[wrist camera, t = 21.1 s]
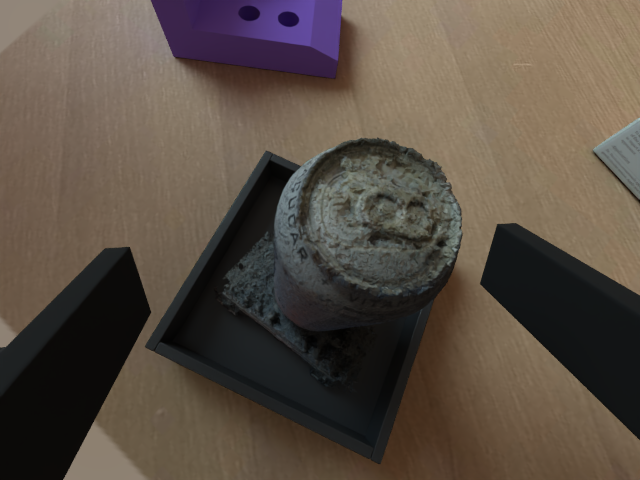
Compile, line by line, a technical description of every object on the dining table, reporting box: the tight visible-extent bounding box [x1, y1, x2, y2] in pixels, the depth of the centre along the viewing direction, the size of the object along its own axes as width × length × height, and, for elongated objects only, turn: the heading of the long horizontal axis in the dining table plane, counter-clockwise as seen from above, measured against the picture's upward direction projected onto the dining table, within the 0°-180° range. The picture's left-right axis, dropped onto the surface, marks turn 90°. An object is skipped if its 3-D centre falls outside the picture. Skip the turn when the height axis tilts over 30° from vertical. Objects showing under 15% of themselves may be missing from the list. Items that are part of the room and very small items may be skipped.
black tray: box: [145, 151, 434, 464], centre depth 17 cm, size 12×12×3 cm
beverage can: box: [214, 137, 462, 395], centre depth 12 cm, size 9×8×12 cm
